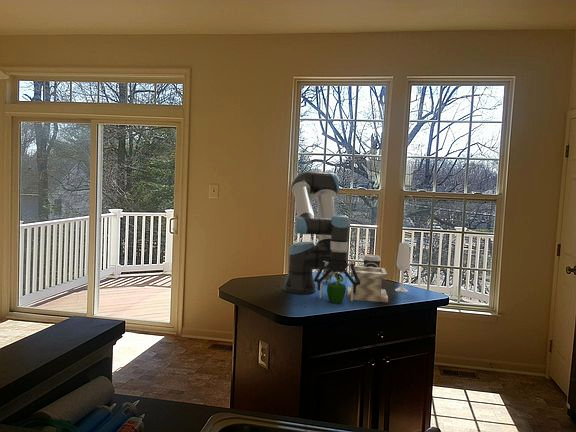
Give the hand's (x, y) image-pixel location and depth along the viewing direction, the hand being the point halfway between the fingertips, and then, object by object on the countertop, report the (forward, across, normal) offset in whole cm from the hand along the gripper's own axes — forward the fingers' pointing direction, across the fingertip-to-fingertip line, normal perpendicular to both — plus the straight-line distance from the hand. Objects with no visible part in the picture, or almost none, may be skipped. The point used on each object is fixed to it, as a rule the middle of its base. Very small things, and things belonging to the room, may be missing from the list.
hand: (336, 299), depth 202 cm
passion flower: (+1, -3, +44) cm, 44 cm away
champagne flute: (+1, +32, +35) cm, 48 cm away
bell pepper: (+2, 0, 0) cm, 2 cm away
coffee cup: (+1, +17, +47) cm, 50 cm away
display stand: (+1, +14, +16) cm, 21 cm away
